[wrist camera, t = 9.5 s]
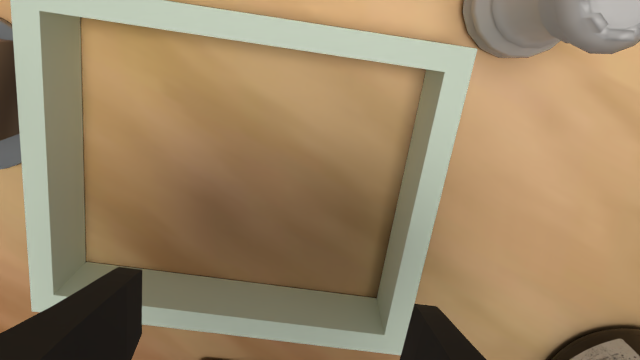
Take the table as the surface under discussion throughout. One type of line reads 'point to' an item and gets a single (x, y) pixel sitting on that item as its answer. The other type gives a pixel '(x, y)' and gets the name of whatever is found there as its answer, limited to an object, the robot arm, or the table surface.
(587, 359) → the ink bottle
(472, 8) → the rook chess piece
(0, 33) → the coaster
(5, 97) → the block
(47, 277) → the green rectangular frame
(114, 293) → the robot arm
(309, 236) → the table surface
